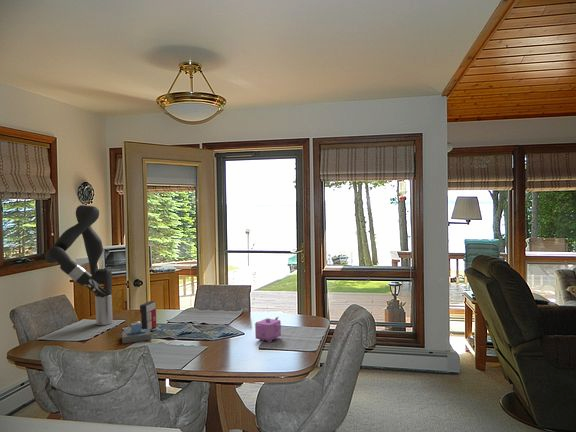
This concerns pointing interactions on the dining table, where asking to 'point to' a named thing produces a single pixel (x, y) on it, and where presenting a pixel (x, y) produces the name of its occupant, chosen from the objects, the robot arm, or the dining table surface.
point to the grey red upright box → (148, 315)
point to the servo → (135, 329)
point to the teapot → (268, 329)
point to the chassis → (136, 336)
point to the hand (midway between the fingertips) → (104, 294)
